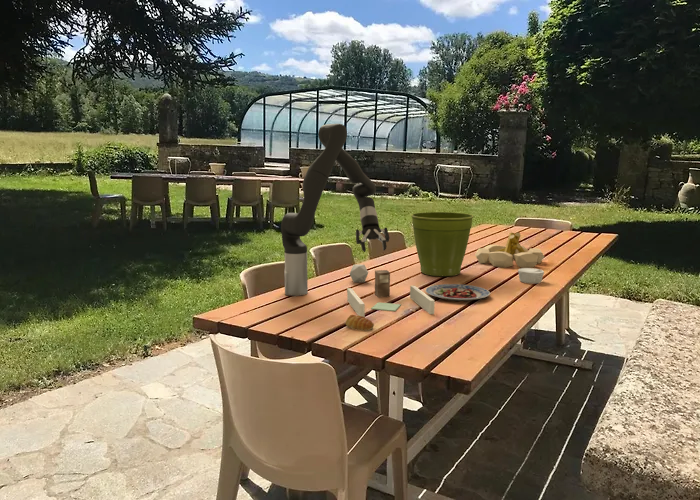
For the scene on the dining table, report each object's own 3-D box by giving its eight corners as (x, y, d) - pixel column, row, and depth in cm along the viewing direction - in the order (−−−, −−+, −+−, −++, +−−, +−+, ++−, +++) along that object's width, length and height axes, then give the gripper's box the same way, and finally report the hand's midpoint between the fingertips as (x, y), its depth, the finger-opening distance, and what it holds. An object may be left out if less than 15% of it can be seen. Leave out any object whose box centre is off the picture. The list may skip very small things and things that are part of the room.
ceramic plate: (497, 293, 226) (497, 286, 226) (478, 307, 204) (478, 300, 204) (439, 286, 239) (439, 279, 239) (415, 299, 217) (415, 291, 217)
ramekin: (545, 284, 242) (545, 273, 241) (518, 283, 244) (519, 272, 243) (541, 279, 252) (542, 268, 252) (516, 278, 255) (517, 267, 254)
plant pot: (417, 265, 285) (418, 211, 280) (474, 269, 275) (477, 213, 270) (403, 277, 257) (404, 216, 252) (467, 281, 247) (469, 218, 243)
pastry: (378, 328, 179) (378, 316, 179) (366, 333, 174) (366, 321, 173) (355, 323, 185) (355, 312, 184) (343, 328, 179) (343, 316, 179)
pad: (371, 309, 201) (371, 308, 201) (378, 303, 209) (378, 302, 209) (394, 311, 198) (394, 310, 198) (400, 305, 207) (400, 304, 206)
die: (361, 286, 241) (373, 267, 243) (345, 276, 242) (356, 257, 244) (361, 288, 249) (372, 270, 251) (345, 278, 250) (356, 261, 252)
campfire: (533, 271, 272) (535, 237, 269) (467, 264, 289) (468, 233, 286) (548, 260, 301) (550, 230, 298) (488, 255, 319) (489, 226, 316)
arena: (360, 318, 190) (360, 304, 189) (347, 300, 213) (347, 288, 212) (434, 314, 195) (434, 300, 194) (413, 297, 218) (414, 285, 217)
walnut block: (377, 297, 219) (378, 273, 217) (374, 294, 224) (375, 270, 222) (389, 296, 220) (390, 272, 218) (386, 293, 225) (386, 270, 223)
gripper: (353, 215, 236) (358, 246, 228) (386, 213, 238) (392, 244, 230) (352, 225, 242) (357, 256, 234) (384, 222, 244) (389, 253, 236)
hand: (374, 250), depth 232 cm, fingers open, 8 cm apart
